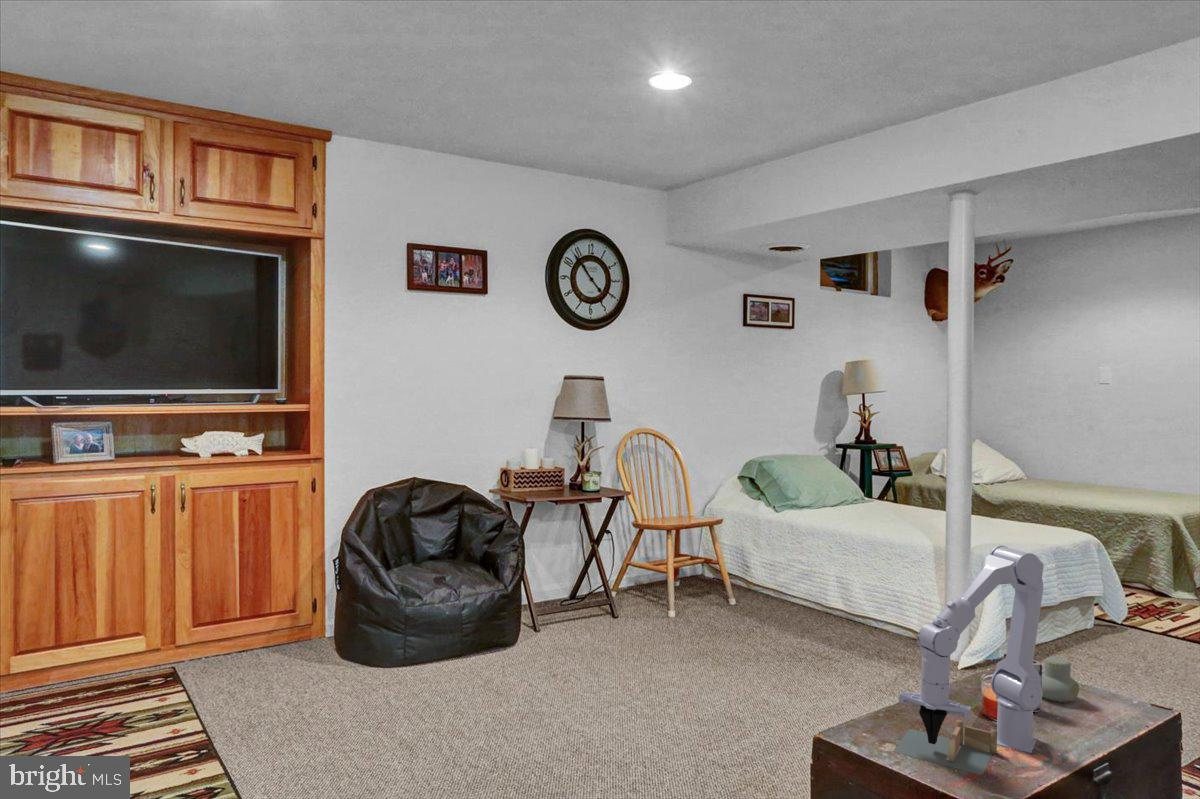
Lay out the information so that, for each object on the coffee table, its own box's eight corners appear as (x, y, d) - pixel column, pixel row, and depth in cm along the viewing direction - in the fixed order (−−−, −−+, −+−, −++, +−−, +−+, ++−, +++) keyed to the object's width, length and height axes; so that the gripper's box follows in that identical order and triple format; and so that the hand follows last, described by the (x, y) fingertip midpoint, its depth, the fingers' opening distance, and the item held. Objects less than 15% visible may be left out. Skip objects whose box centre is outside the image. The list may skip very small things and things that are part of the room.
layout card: (909, 730, 196) (909, 728, 196) (994, 751, 186) (994, 749, 186) (892, 753, 184) (892, 751, 184) (982, 776, 174) (982, 774, 174)
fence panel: (955, 744, 188) (955, 724, 187) (960, 745, 187) (961, 725, 187) (947, 760, 179) (948, 739, 179) (953, 761, 179) (954, 741, 179)
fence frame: (955, 741, 189) (956, 719, 189) (997, 752, 185) (997, 729, 185) (954, 744, 188) (955, 721, 188) (995, 754, 183) (996, 731, 183)
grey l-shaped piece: (1065, 708, 212) (1067, 669, 212) (1031, 698, 219) (1032, 660, 218) (1081, 698, 220) (1082, 660, 220) (1047, 689, 226) (1049, 652, 226)
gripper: (896, 678, 185) (893, 739, 185) (967, 693, 177) (964, 757, 177) (904, 669, 191) (901, 729, 191) (973, 683, 183) (970, 746, 183)
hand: (932, 742), depth 185 cm, fingers closed
